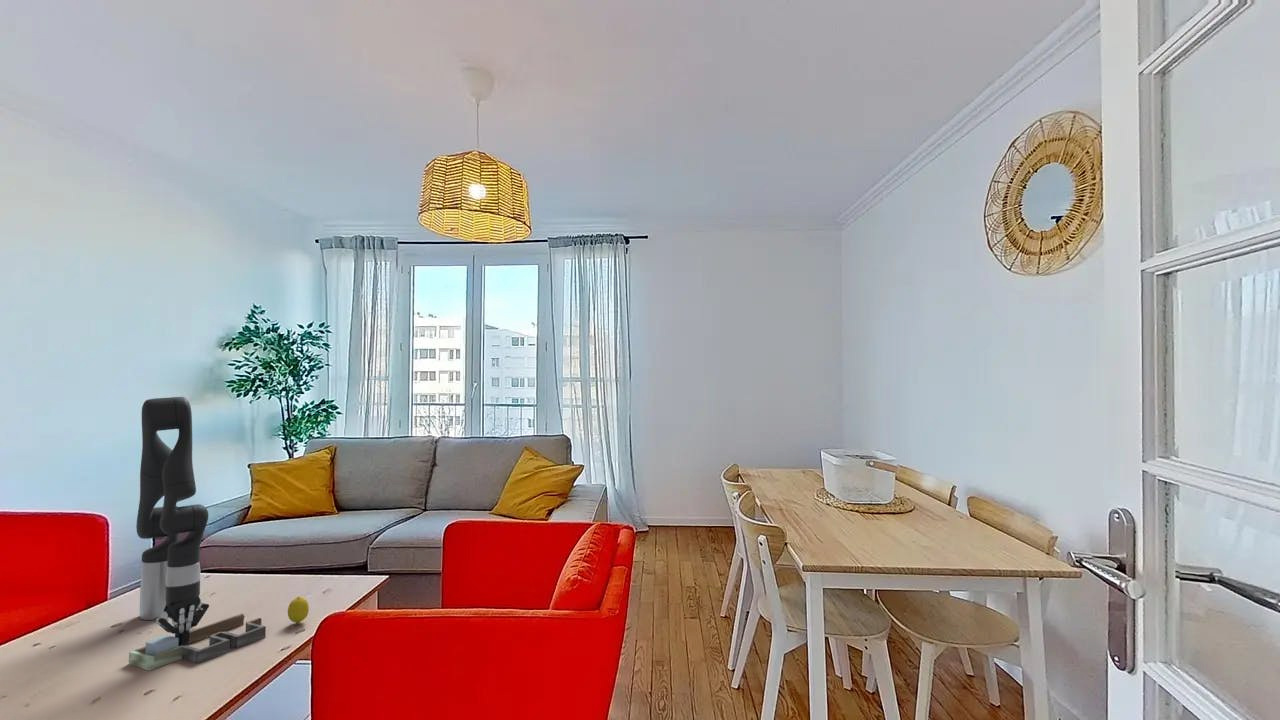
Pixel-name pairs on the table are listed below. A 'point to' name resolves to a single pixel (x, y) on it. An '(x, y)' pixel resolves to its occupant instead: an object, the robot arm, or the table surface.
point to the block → (161, 645)
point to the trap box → (217, 646)
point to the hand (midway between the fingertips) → (181, 645)
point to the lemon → (298, 610)
